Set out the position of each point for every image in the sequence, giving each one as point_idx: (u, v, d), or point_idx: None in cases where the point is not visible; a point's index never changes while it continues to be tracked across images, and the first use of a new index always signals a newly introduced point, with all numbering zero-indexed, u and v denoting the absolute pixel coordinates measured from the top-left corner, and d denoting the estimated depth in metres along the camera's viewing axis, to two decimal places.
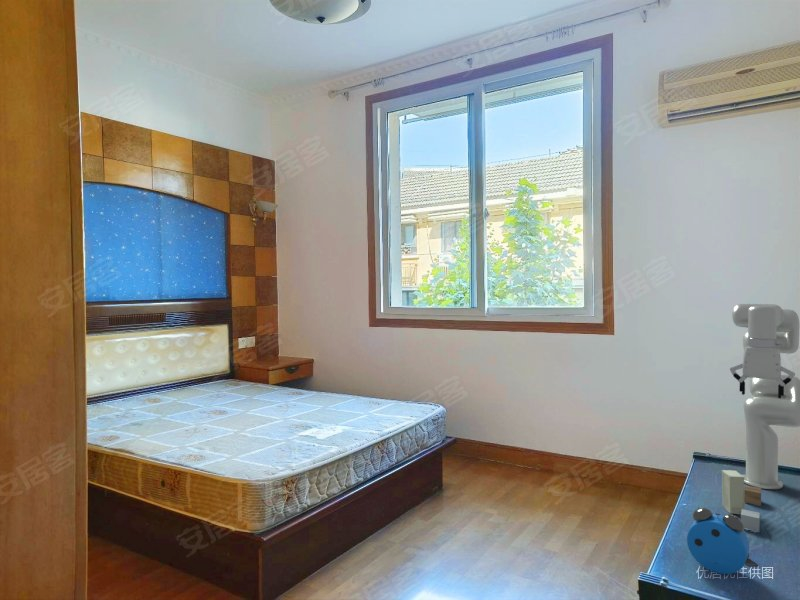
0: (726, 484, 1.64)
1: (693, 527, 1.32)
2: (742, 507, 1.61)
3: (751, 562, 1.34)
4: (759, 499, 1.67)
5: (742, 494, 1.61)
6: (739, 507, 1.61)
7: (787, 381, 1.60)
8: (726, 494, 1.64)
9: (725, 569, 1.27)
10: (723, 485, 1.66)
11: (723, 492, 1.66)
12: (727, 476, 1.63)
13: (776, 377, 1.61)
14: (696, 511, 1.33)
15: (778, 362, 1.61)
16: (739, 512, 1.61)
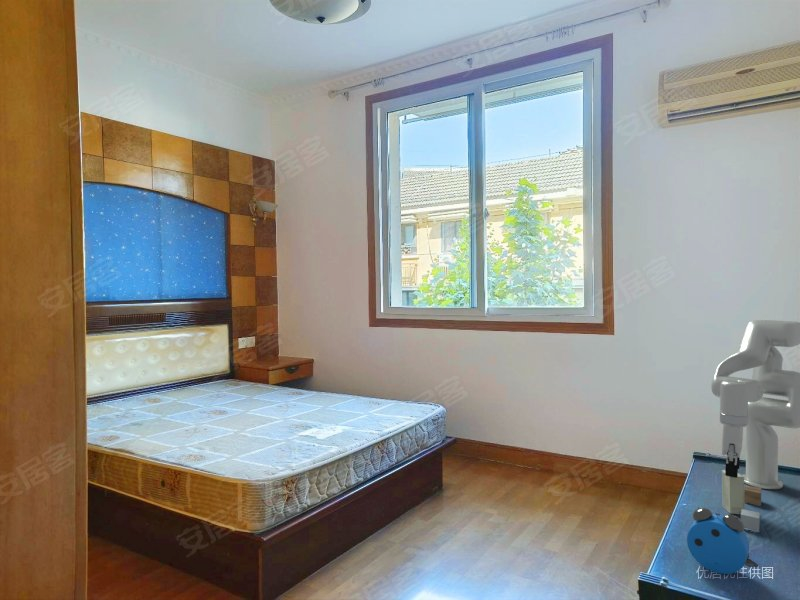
0: (726, 484, 1.64)
1: (693, 527, 1.32)
2: (742, 507, 1.61)
3: (751, 562, 1.34)
4: (759, 499, 1.67)
5: (742, 494, 1.61)
6: (739, 507, 1.61)
7: None
8: (726, 494, 1.64)
9: (725, 569, 1.27)
10: (723, 485, 1.66)
11: (723, 492, 1.66)
12: (727, 476, 1.63)
13: None
14: (696, 511, 1.33)
15: None
16: (739, 512, 1.61)
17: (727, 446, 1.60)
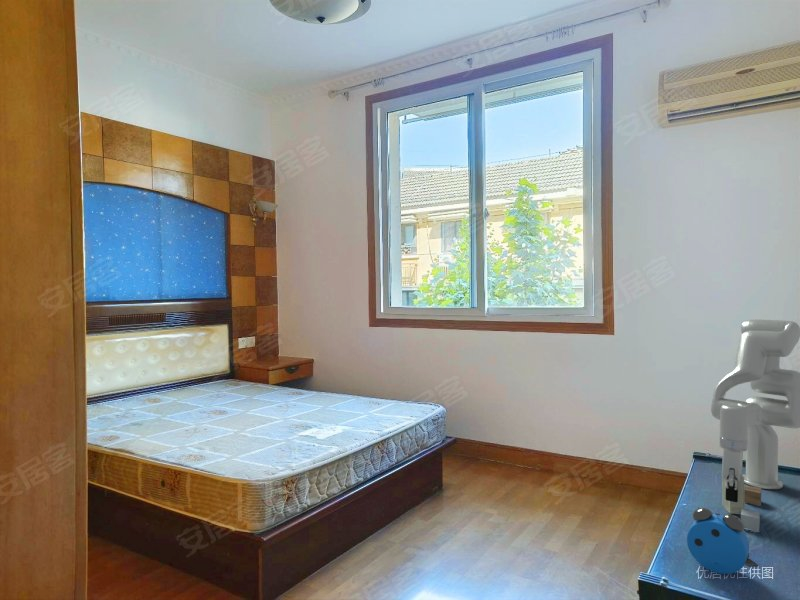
0: (726, 484, 1.64)
1: (693, 527, 1.32)
2: (742, 507, 1.61)
3: (751, 562, 1.34)
4: (759, 499, 1.67)
5: (742, 494, 1.61)
6: (739, 507, 1.61)
7: None
8: None
9: (725, 569, 1.27)
10: (723, 485, 1.66)
11: (723, 492, 1.66)
12: None
13: None
14: (696, 511, 1.33)
15: None
16: (739, 512, 1.61)
17: (727, 471, 1.60)
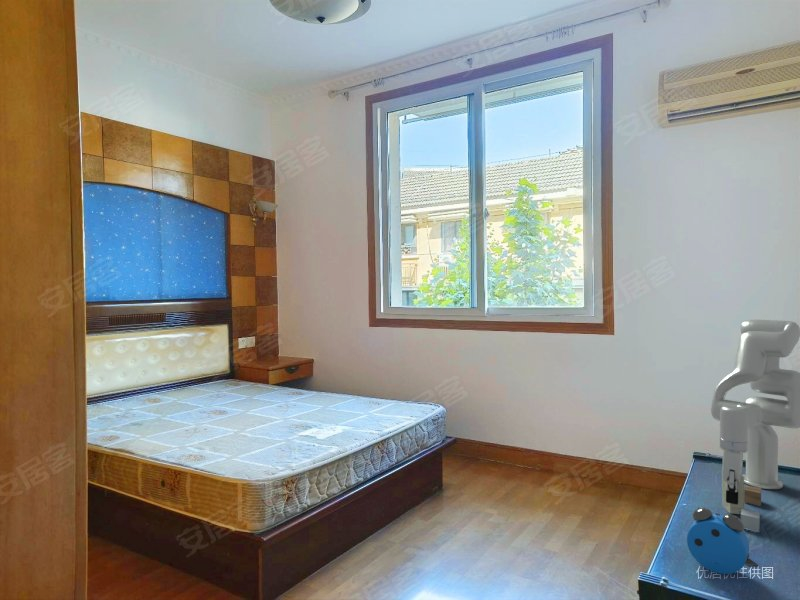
0: (726, 484, 1.64)
1: (693, 527, 1.32)
2: (742, 507, 1.61)
3: (751, 562, 1.33)
4: (759, 499, 1.67)
5: (742, 494, 1.61)
6: (739, 507, 1.61)
7: None
8: None
9: (725, 569, 1.27)
10: (723, 485, 1.66)
11: (723, 492, 1.66)
12: None
13: None
14: (696, 511, 1.33)
15: None
16: (739, 512, 1.61)
17: (727, 472, 1.60)
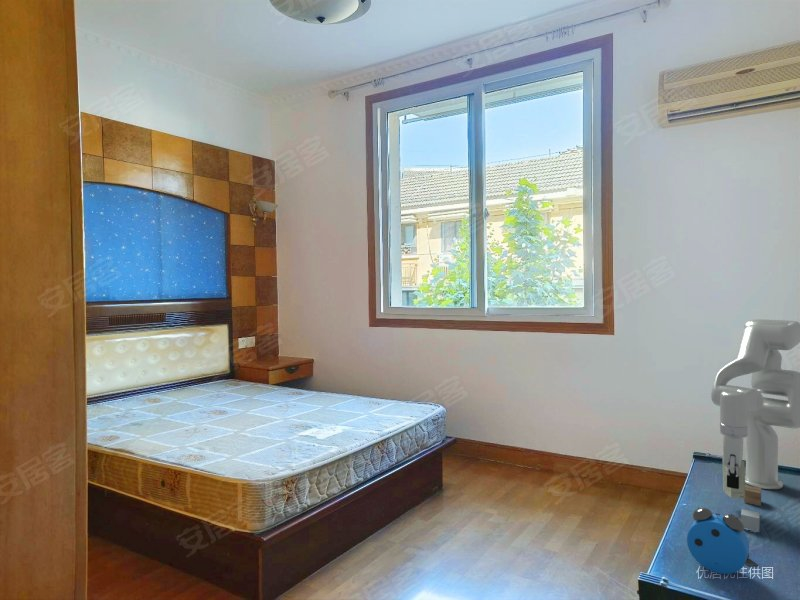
0: (727, 469, 1.64)
1: (693, 527, 1.32)
2: (743, 491, 1.61)
3: (751, 562, 1.33)
4: (759, 499, 1.67)
5: (743, 478, 1.61)
6: (740, 492, 1.61)
7: None
8: None
9: (725, 569, 1.27)
10: (724, 470, 1.66)
11: (724, 477, 1.66)
12: None
13: None
14: (696, 511, 1.33)
15: None
16: (740, 496, 1.61)
17: (728, 457, 1.60)
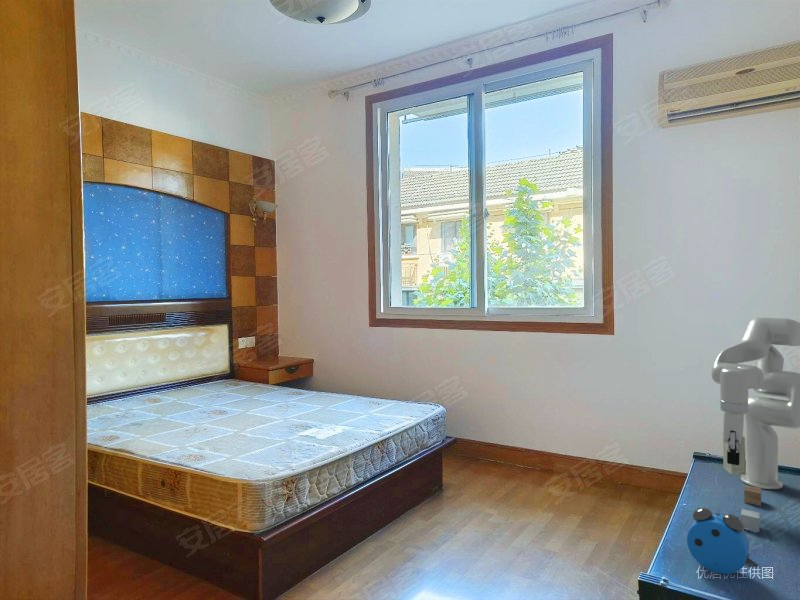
0: (727, 446, 1.64)
1: (693, 527, 1.32)
2: (743, 468, 1.61)
3: (751, 562, 1.33)
4: (759, 499, 1.67)
5: (743, 455, 1.61)
6: (741, 468, 1.61)
7: None
8: None
9: (725, 569, 1.27)
10: (724, 447, 1.66)
11: (724, 454, 1.66)
12: None
13: None
14: (696, 511, 1.33)
15: None
16: (740, 473, 1.61)
17: (728, 433, 1.60)
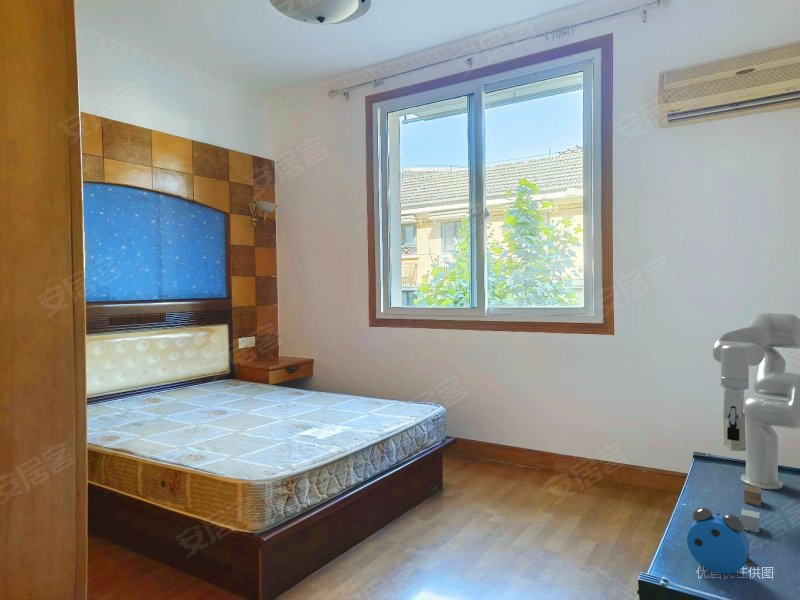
0: (727, 422, 1.65)
1: (693, 527, 1.32)
2: (743, 444, 1.62)
3: (751, 562, 1.33)
4: (759, 499, 1.67)
5: (743, 431, 1.62)
6: (741, 444, 1.62)
7: None
8: None
9: (725, 569, 1.27)
10: (724, 424, 1.67)
11: (724, 431, 1.67)
12: None
13: None
14: (696, 511, 1.33)
15: None
16: (740, 449, 1.62)
17: (728, 409, 1.61)
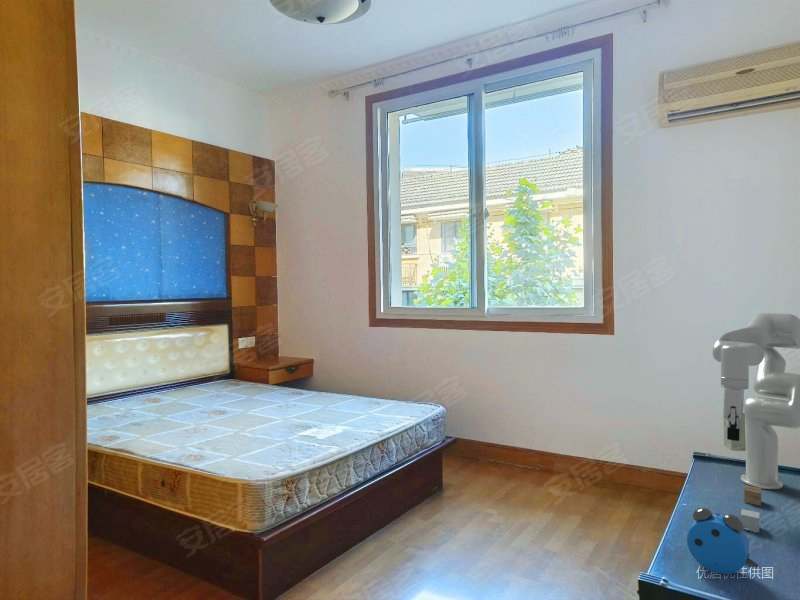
0: (727, 422, 1.65)
1: (693, 527, 1.32)
2: (743, 444, 1.62)
3: (751, 562, 1.33)
4: (759, 499, 1.67)
5: (743, 431, 1.62)
6: (741, 444, 1.62)
7: None
8: None
9: (725, 569, 1.27)
10: (724, 424, 1.67)
11: (724, 431, 1.67)
12: None
13: None
14: (696, 511, 1.33)
15: None
16: (740, 449, 1.62)
17: (728, 409, 1.61)
